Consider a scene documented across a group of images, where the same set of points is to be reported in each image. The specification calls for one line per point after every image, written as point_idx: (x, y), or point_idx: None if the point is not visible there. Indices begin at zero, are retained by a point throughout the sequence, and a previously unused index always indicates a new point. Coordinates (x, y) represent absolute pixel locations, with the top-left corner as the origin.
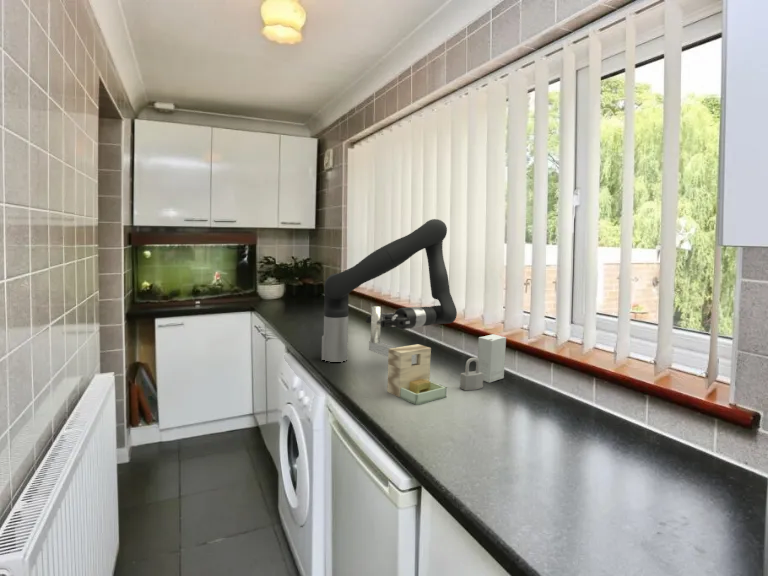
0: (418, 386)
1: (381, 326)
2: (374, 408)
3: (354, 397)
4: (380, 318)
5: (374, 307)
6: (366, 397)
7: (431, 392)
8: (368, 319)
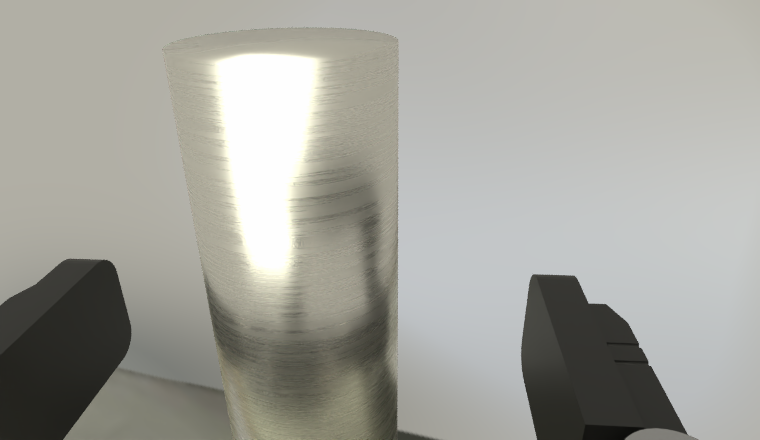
0: None
1: (118, 340)
2: None
3: (168, 395)
4: (212, 310)
5: (252, 31)
6: (115, 430)
7: None
8: (533, 330)
